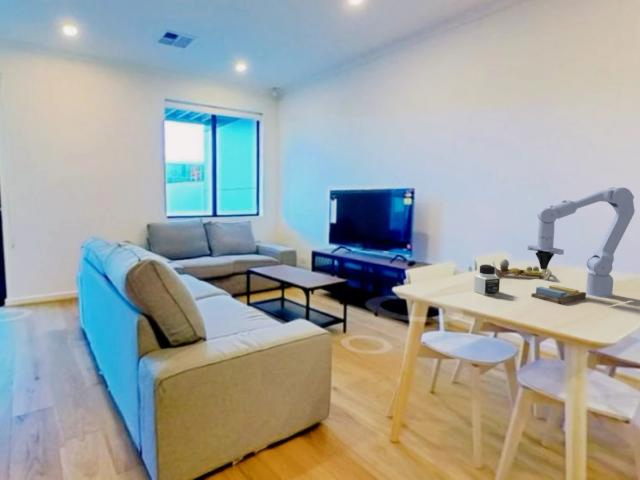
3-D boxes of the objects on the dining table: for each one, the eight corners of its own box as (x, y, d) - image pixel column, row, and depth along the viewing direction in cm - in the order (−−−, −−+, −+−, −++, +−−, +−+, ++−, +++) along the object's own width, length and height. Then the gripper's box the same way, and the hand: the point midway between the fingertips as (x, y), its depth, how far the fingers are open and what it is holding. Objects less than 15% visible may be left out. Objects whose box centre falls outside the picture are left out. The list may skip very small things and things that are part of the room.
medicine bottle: (484, 295, 161) (486, 267, 160) (473, 291, 168) (474, 264, 167) (499, 294, 163) (500, 266, 162) (487, 290, 170) (488, 263, 169)
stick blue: (565, 301, 151) (565, 292, 150) (560, 302, 150) (560, 293, 149) (540, 294, 160) (541, 286, 159) (535, 295, 158) (536, 287, 158)
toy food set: (493, 278, 194) (494, 263, 193) (491, 271, 211) (492, 257, 210) (551, 282, 185) (553, 266, 184) (545, 274, 201) (546, 259, 200)
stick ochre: (548, 294, 161) (549, 285, 161) (553, 293, 162) (553, 284, 162) (573, 300, 152) (574, 291, 152) (578, 299, 153) (578, 290, 153)
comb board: (531, 298, 157) (531, 289, 157) (555, 293, 164) (555, 285, 164) (560, 306, 147) (561, 297, 146) (585, 300, 154) (585, 292, 153)
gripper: (523, 235, 168) (521, 267, 170) (556, 239, 155) (554, 273, 157) (534, 235, 171) (532, 265, 173) (567, 238, 158) (565, 271, 160)
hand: (543, 269), depth 165 cm, fingers closed
